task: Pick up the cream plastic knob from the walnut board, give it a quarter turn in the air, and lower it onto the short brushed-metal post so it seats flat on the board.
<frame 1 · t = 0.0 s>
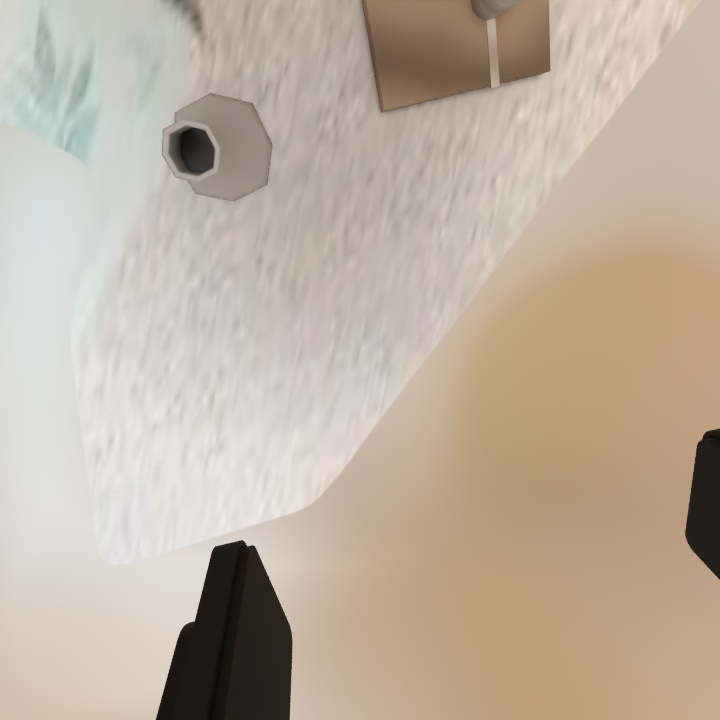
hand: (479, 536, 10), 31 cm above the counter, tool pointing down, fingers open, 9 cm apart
flask: (223, 149, 34), on the counter
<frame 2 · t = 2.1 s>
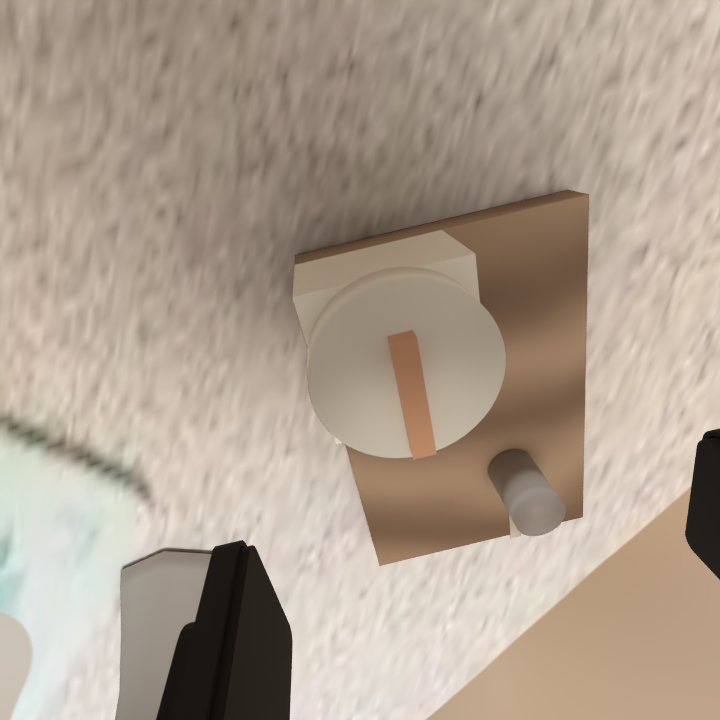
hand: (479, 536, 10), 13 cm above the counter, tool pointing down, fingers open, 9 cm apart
flask: (184, 586, 28), on the counter
hub board: (455, 397, 24), on the counter
knob: (382, 316, 20), point 2 cm above the counter, touching hub board
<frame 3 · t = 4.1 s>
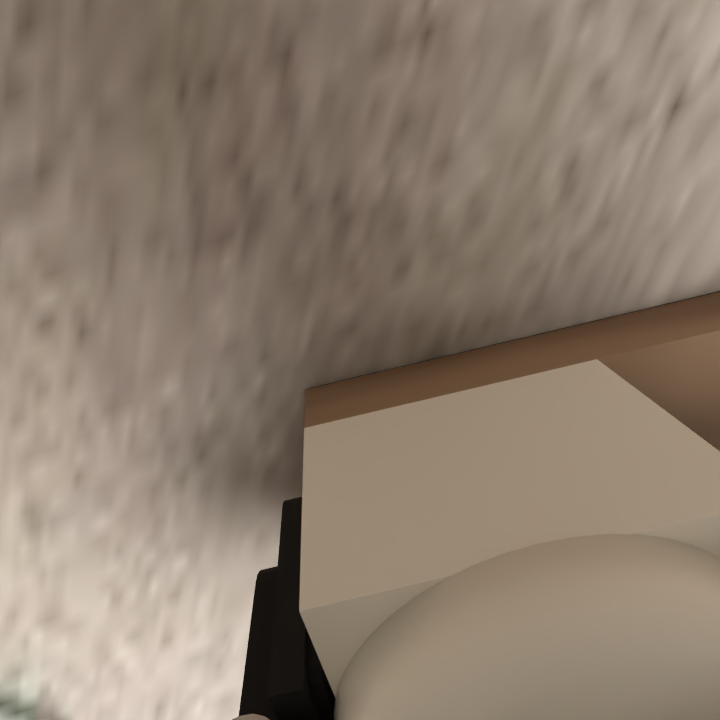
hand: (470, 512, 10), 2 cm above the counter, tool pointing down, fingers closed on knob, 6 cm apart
hub board: (564, 588, 14), on the counter
knob: (466, 504, 10), point 2 cm above the counter, touching gripper, hub board
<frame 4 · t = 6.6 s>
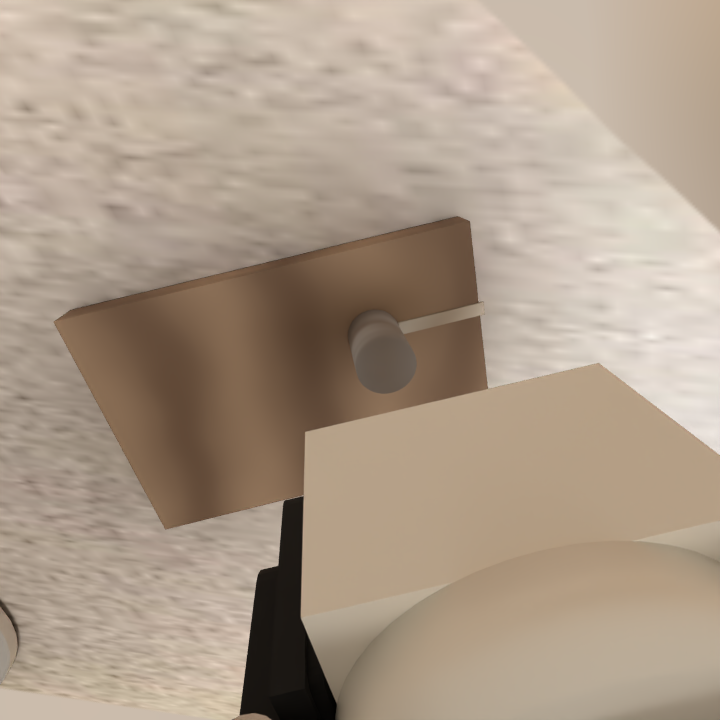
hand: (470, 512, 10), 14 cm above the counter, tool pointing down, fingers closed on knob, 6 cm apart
hub board: (300, 377, 23), on the counter
knob: (467, 508, 10), point 13 cm above the counter, touching gripper
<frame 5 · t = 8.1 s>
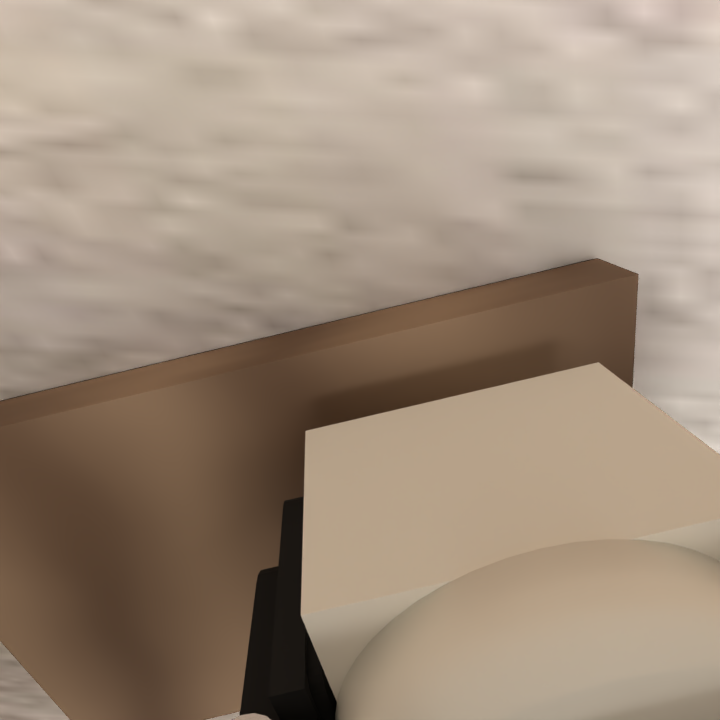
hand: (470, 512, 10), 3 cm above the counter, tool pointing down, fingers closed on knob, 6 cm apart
hub board: (310, 515, 14), on the counter
knob: (467, 507, 10), point 3 cm above the counter, touching gripper
when the fingers open (3 cm above the counter, at t = 9.4 s): knob stays where it is, resting on hub board.
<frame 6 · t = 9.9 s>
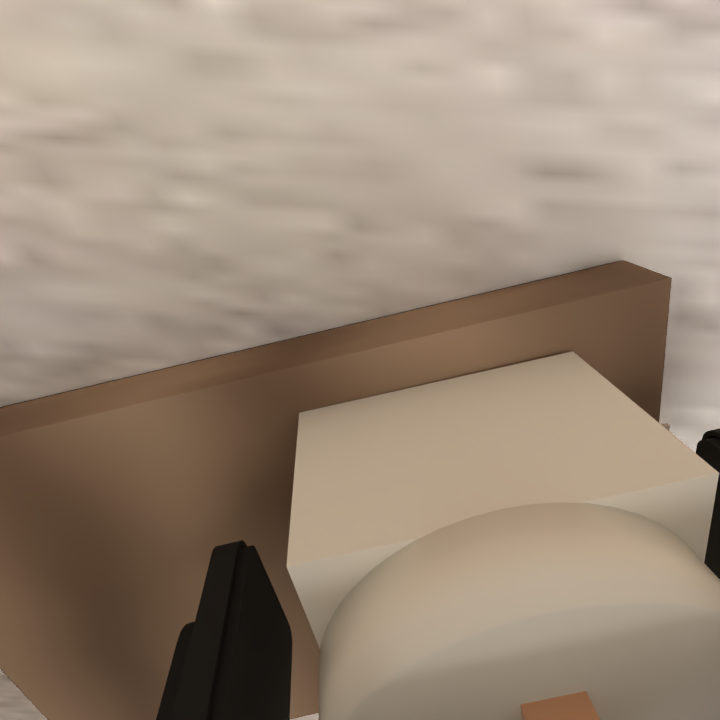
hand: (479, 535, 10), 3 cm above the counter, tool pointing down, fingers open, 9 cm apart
hub board: (316, 529, 14), on the counter
knob: (452, 487, 11), point 2 cm above the counter, touching hub board
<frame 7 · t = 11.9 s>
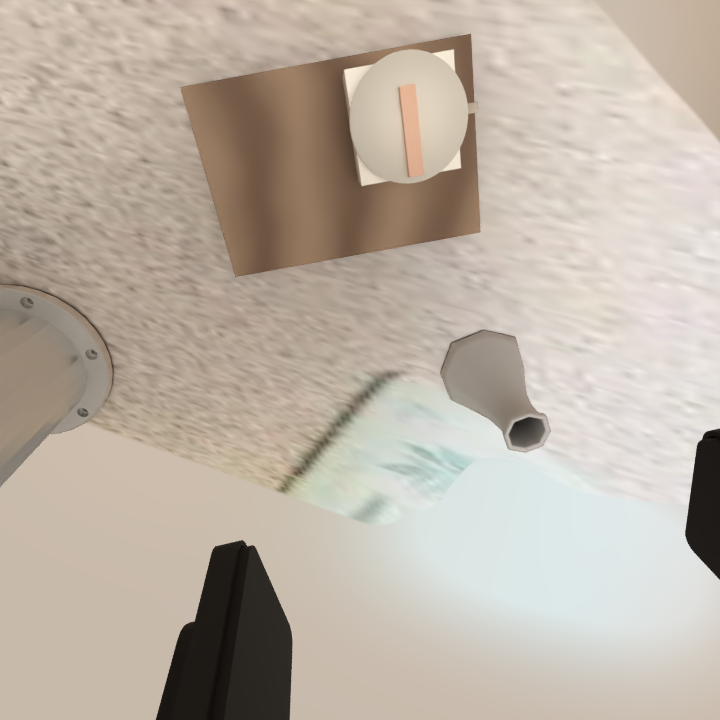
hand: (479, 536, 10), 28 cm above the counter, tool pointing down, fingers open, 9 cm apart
flask: (480, 366, 40), on the counter
hub board: (342, 164, 32), on the counter
knob: (396, 123, 30), point 2 cm above the counter, touching hub board
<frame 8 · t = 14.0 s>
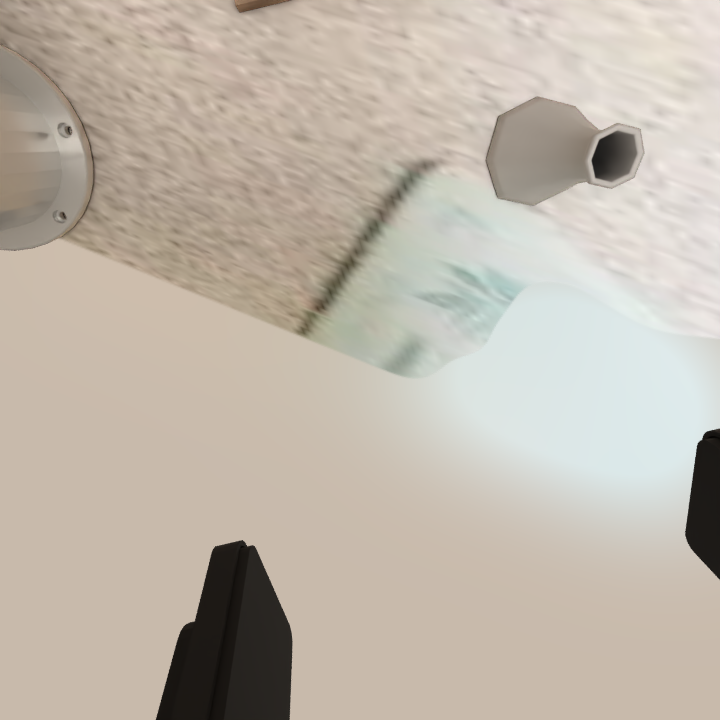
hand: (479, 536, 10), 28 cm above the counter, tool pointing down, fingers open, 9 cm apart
flask: (532, 153, 34), on the counter
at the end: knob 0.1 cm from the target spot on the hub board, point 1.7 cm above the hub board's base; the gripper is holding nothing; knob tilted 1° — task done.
